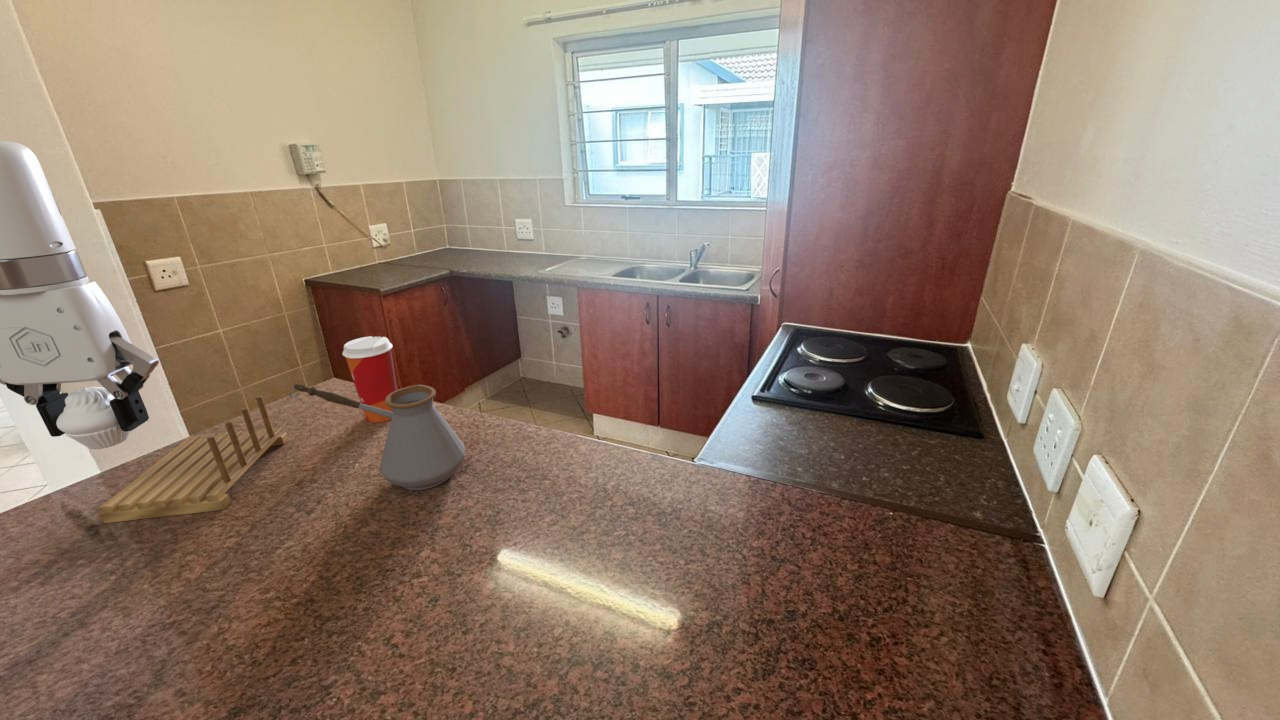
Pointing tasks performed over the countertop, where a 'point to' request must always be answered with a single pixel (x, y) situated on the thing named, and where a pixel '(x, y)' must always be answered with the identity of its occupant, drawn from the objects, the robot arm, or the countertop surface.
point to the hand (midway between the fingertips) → (102, 426)
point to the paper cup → (372, 372)
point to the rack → (195, 473)
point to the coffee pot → (410, 437)
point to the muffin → (91, 419)
